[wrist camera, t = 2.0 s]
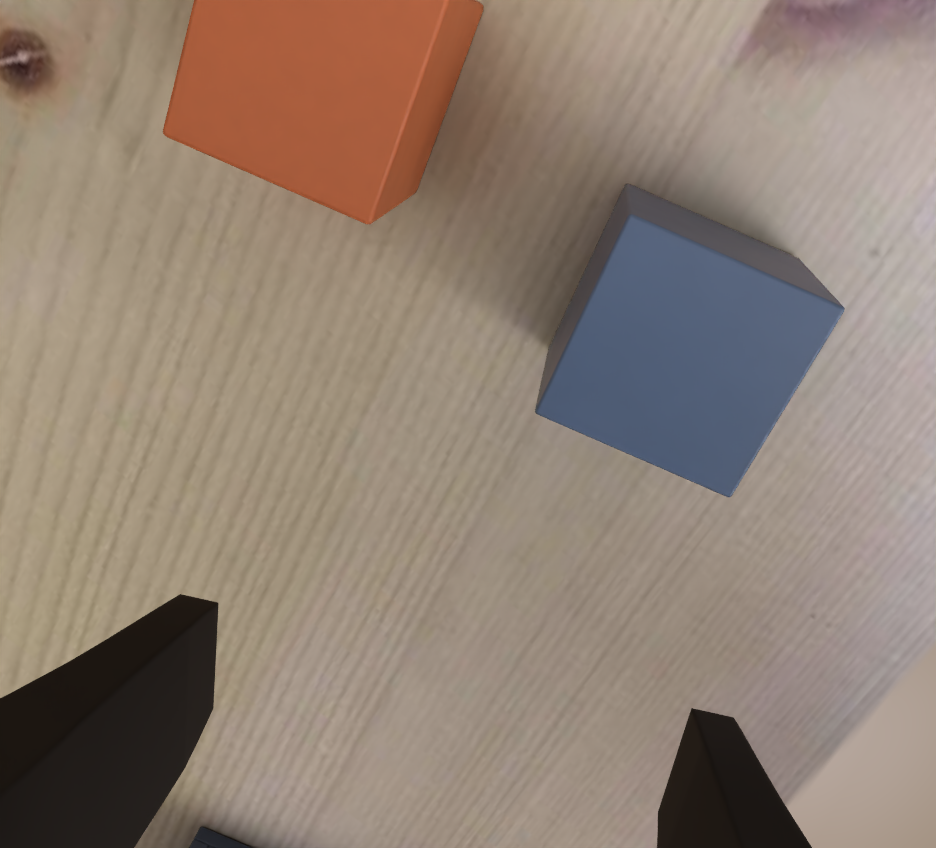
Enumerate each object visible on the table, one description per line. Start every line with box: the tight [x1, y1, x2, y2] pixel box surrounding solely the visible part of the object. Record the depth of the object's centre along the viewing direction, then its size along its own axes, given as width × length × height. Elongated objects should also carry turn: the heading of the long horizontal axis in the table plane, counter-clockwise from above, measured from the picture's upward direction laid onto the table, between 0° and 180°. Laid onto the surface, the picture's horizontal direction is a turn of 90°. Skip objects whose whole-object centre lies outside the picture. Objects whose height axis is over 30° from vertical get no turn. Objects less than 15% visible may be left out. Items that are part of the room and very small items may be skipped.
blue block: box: [535, 184, 844, 497], centre depth 18 cm, size 4×4×4 cm
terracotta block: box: [163, 0, 483, 224], centre depth 17 cm, size 4×4×4 cm
